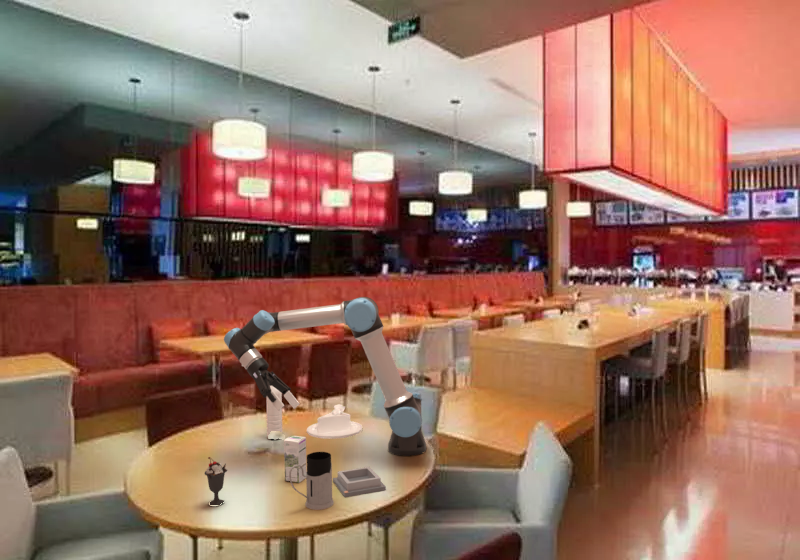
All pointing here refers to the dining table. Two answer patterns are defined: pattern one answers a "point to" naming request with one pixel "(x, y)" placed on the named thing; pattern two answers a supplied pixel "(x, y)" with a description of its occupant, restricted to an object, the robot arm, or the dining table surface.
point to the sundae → (215, 480)
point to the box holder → (358, 482)
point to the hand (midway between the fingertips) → (289, 407)
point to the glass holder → (317, 480)
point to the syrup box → (295, 458)
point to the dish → (335, 425)
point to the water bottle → (274, 414)
